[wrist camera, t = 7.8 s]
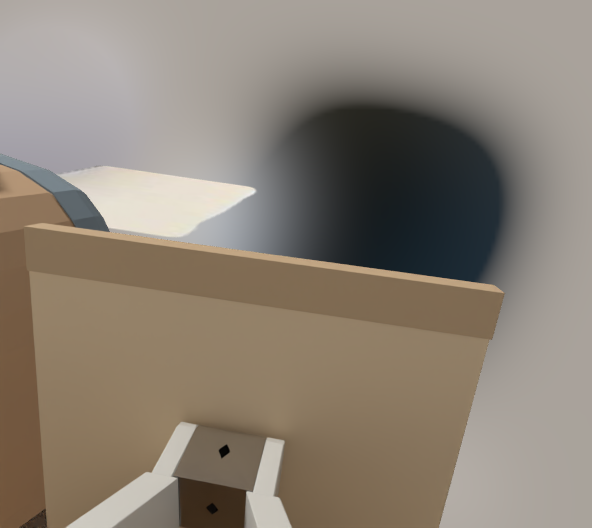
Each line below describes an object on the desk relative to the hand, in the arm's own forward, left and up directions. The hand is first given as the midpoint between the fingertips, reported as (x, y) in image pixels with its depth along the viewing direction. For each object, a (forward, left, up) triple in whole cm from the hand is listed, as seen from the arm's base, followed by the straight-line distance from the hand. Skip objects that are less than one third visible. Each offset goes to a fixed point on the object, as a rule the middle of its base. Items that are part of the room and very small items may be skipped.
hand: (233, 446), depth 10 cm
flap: (0, 0, -5) cm, 5 cm away
